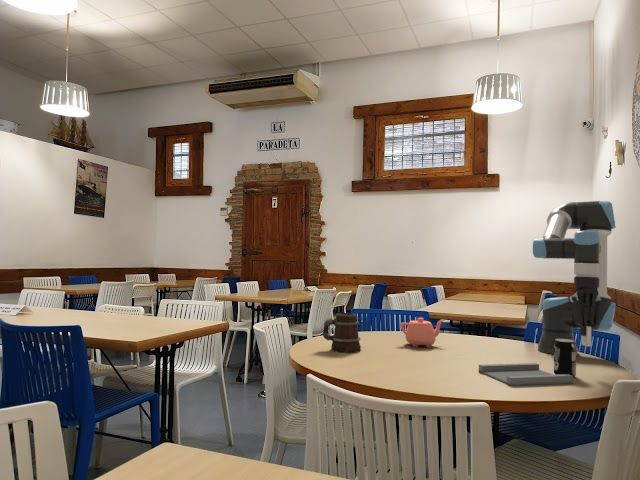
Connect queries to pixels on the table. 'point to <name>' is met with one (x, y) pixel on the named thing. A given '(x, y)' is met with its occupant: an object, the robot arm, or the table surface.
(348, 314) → the mug
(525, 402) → the table surface
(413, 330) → the teapot
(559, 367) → the beverage can
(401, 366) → the table surface
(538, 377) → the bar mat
